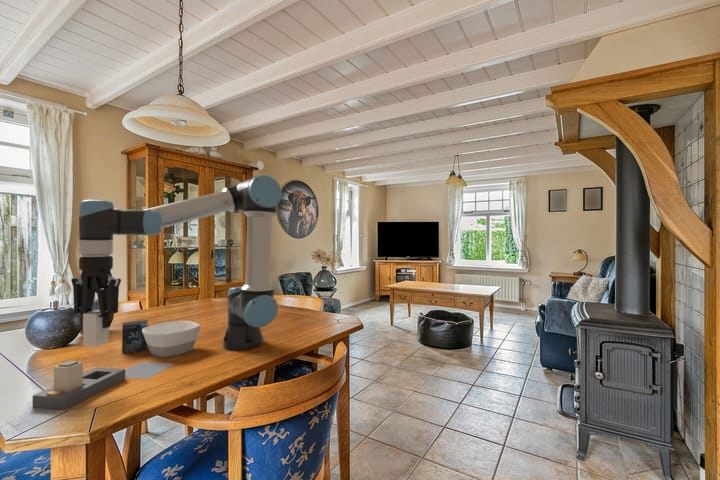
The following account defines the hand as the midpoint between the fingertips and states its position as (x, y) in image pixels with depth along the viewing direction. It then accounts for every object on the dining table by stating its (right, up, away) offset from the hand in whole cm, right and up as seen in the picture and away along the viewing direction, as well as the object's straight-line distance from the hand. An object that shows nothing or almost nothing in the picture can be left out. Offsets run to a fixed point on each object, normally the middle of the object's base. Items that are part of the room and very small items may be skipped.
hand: (96, 338), depth 95 cm
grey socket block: (-1, -14, -4) cm, 14 cm away
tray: (+6, -14, +11) cm, 19 cm away
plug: (0, -2, 0) cm, 2 cm away
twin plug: (-1, -13, -8) cm, 16 cm away
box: (-9, -14, +31) cm, 35 cm away
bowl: (+5, -14, +30) cm, 33 cm away
